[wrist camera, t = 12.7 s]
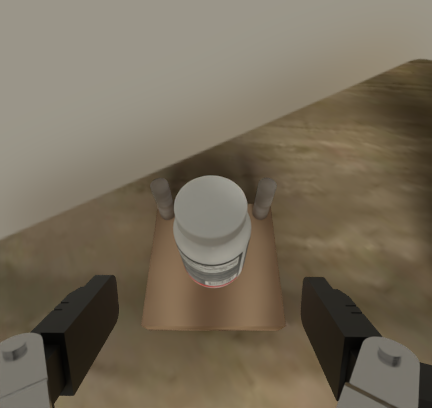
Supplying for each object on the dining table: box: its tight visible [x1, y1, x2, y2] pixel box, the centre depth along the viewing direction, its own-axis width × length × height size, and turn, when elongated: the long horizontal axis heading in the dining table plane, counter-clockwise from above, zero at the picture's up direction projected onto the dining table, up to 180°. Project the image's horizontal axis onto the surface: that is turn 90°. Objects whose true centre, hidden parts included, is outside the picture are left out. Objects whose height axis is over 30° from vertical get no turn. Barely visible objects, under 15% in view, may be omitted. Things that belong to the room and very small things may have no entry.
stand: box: [141, 178, 286, 331], centre depth 24 cm, size 12×12×8 cm
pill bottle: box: [173, 175, 251, 288], centre depth 21 cm, size 6×6×10 cm
